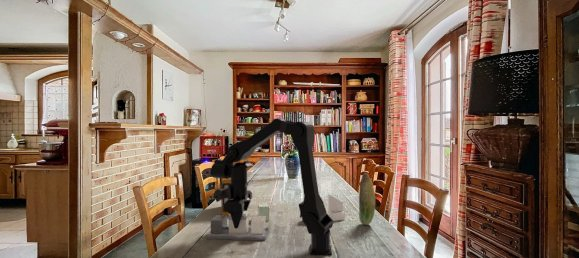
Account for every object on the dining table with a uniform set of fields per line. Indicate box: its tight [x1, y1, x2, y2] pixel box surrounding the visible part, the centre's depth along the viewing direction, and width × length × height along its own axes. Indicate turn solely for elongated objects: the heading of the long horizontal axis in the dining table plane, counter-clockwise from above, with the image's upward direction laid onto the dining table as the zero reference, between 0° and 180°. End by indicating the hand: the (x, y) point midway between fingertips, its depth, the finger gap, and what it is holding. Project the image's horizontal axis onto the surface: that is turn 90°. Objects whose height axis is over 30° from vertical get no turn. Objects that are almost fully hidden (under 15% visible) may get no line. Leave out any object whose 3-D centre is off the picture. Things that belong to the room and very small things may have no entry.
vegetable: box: [358, 173, 376, 226], centre depth 113 cm, size 6×6×20 cm
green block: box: [257, 202, 270, 222], centre depth 119 cm, size 5×4×6 cm
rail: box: [206, 214, 270, 241], centre depth 102 cm, size 8×20×6 cm, turn 86°
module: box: [228, 210, 250, 234], centre depth 102 cm, size 4×6×7 cm
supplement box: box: [220, 177, 233, 216], centre depth 133 cm, size 10×15×16 cm
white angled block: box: [327, 194, 346, 222], centre depth 120 cm, size 4×10×9 cm, turn 105°
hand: (238, 224), depth 102 cm, fingers open, 7 cm apart
